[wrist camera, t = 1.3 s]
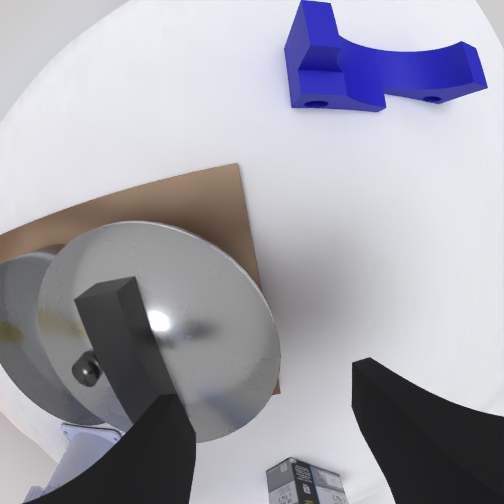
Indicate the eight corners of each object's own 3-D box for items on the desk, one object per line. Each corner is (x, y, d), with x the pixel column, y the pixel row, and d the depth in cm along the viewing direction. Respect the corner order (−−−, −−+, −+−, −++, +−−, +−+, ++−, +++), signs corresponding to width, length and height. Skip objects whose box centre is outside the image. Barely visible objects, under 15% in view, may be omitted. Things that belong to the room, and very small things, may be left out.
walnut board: (279, 385, 20) (280, 393, 19) (42, 394, 20) (38, 399, 19) (237, 164, 16) (237, 163, 15) (-18, 244, 16) (-24, 246, 15)
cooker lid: (292, 421, 14) (300, 457, 11) (101, 431, 14) (87, 460, 11) (251, 191, 11) (255, 191, 8) (19, 251, 11) (-15, 264, 8)
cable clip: (291, 108, 16) (315, 72, 10) (283, 49, 15) (301, -1, 9) (439, 122, 16) (492, 109, 10) (429, 71, 15) (475, 48, 9)
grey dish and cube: (248, 378, 18) (251, 423, 14) (53, 386, 18) (31, 415, 14) (209, 204, 16) (197, 209, 11) (2, 260, 16) (-34, 275, 11)
